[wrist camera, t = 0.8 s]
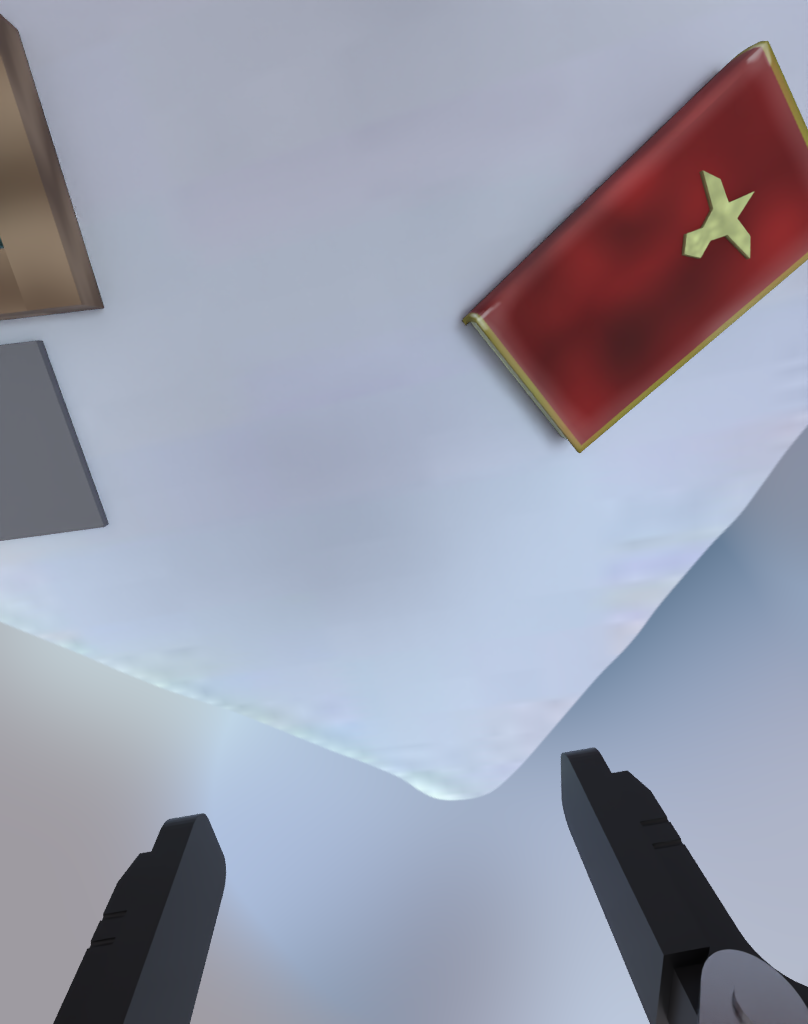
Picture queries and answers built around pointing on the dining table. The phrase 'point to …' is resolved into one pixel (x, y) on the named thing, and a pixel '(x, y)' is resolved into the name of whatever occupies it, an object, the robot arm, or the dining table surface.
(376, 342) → the dining table surface
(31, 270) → the brown wooden frame
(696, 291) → the hardcover book
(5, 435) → the mat
